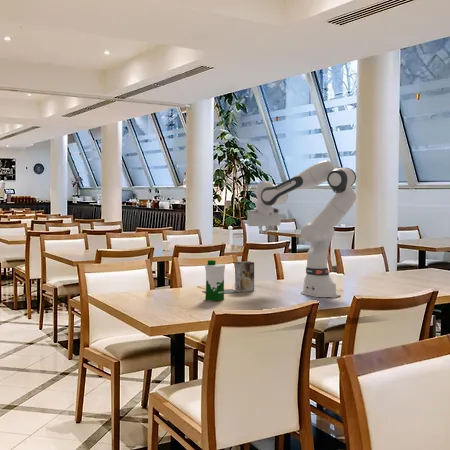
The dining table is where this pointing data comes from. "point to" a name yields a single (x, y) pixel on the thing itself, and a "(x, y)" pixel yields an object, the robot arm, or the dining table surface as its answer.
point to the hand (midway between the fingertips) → (263, 233)
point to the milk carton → (214, 281)
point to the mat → (227, 291)
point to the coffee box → (244, 276)
